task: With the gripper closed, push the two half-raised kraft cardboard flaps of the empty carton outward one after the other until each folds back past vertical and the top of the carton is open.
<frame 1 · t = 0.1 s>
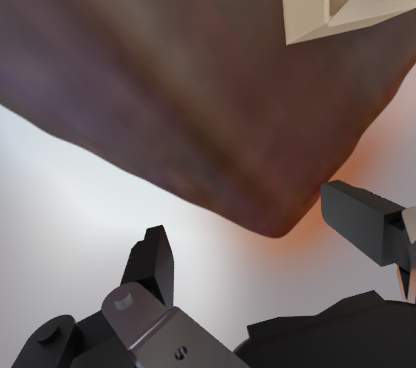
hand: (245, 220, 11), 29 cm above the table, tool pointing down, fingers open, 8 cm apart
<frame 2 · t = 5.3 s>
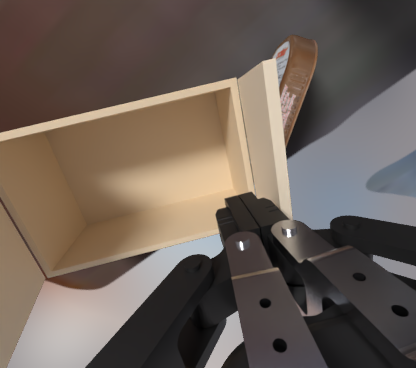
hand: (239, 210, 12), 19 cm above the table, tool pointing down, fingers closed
carton: (147, 161, 30), on the table
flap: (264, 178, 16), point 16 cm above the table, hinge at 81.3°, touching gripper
tin: (260, 110, 30), on the table
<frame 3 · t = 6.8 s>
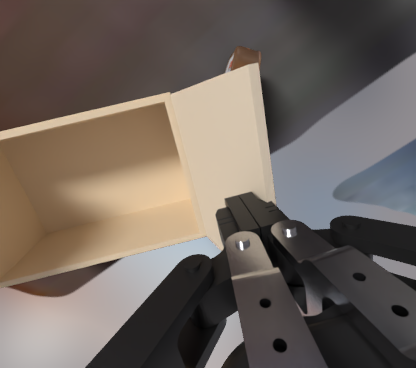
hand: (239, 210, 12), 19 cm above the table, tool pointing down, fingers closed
carton: (106, 170, 30), on the table
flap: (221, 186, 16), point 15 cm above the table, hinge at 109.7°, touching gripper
tin: (219, 119, 30), on the table
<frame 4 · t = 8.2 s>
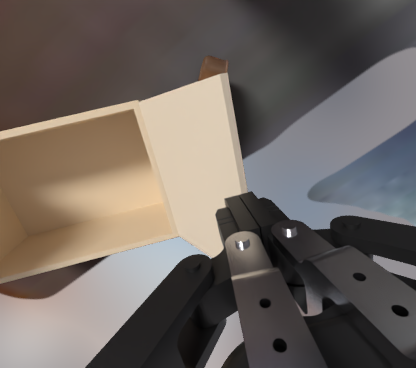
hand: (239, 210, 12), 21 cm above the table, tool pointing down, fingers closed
carton: (85, 174, 31), on the table
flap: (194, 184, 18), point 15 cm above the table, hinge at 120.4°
tin: (195, 124, 31), on the table
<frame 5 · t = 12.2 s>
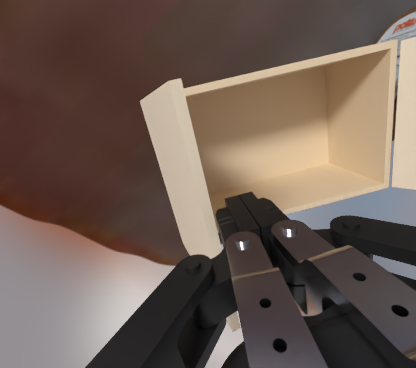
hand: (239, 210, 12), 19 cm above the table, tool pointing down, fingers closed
carton: (251, 135, 31), on the table
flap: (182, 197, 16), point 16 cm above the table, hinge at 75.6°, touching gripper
tin: (361, 85, 31), on the table
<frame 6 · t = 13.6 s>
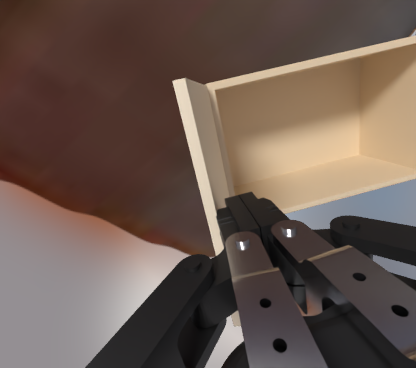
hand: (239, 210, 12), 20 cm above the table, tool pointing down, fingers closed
carton: (285, 126, 32), on the table
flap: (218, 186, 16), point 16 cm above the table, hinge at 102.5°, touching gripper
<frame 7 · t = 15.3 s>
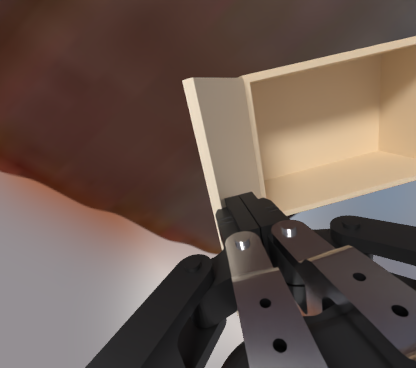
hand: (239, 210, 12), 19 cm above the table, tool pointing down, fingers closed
carton: (306, 122, 31), on the table
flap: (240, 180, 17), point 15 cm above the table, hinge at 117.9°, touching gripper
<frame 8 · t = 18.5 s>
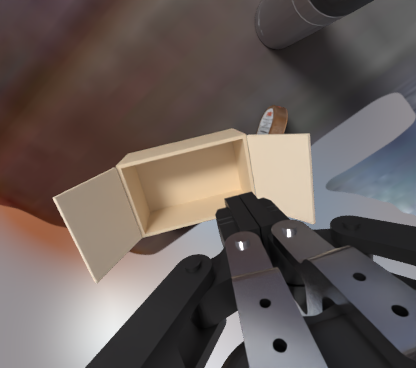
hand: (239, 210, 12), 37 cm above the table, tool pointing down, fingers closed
carton: (189, 172, 50), on the table
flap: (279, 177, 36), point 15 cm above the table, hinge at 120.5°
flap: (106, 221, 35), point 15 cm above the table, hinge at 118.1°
tin: (257, 141, 50), on the table
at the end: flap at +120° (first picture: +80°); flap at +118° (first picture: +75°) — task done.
